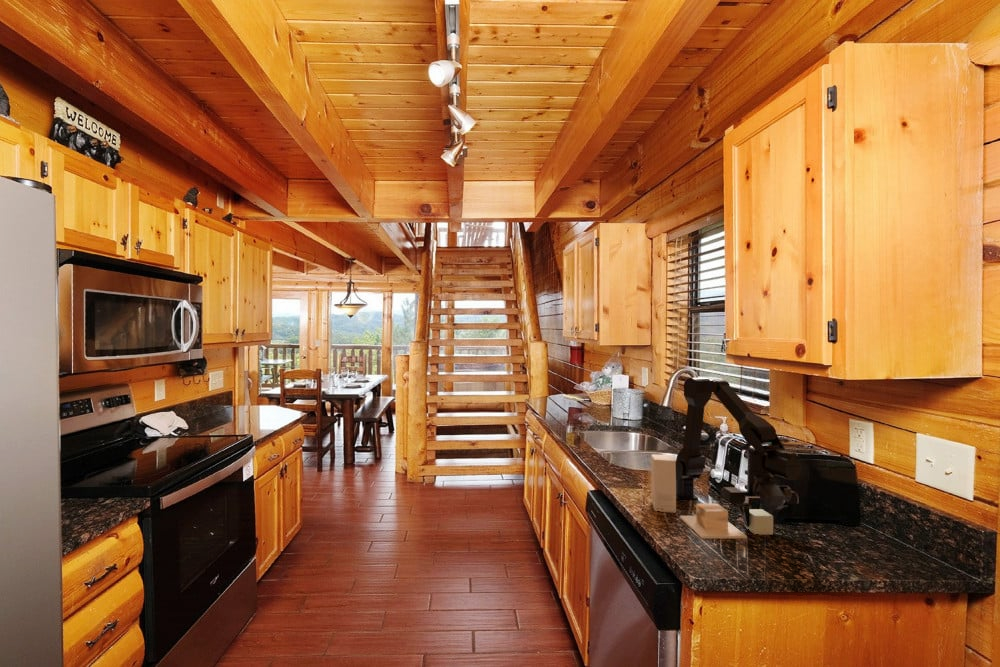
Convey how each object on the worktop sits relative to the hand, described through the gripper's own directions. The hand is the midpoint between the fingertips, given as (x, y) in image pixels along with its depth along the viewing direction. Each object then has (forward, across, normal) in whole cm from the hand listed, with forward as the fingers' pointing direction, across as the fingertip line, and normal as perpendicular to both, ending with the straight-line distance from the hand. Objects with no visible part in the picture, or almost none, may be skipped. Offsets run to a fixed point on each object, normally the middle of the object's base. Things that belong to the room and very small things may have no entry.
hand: (758, 526), depth 131 cm
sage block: (+1, 0, 0) cm, 1 cm away
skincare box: (+1, -20, +17) cm, 26 cm away
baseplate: (+1, -12, +2) cm, 12 cm away
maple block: (0, -12, +2) cm, 12 cm away
